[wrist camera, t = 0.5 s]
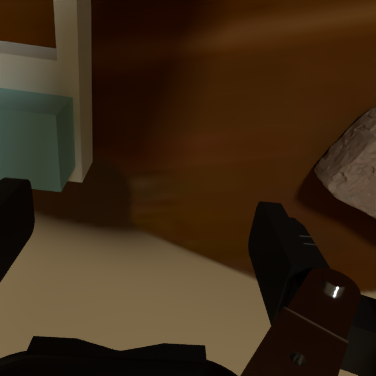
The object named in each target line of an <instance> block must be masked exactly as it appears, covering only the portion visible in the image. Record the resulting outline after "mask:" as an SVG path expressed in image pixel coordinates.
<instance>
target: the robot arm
mask: <svg viewBox="0 0 376 376" xmlns="http://www.w3.org/2000/svg"><path fill="white" fill-rule="evenodd" d="M34 223H35V217H34V207H33V197H32V187H31V183H30V181H29V180H28V179H19V178H9V177H4V178H2V179H1V180H0V282H1V280H2V279H3V278H4V276H5V274H6V273H7V271H8V270H9V268H10V267H11V265H12V264H13V262H14V261H15V259H16V258H17V256H18V255H19V253H20V252H21V250H22V249H23V247H24V246H25V244H26V243H27V241H28V240H29V238H30V237H31V235H32V232H33V229H34ZM248 250H249V255H250V258H251V262H252V265H253V268H254V271H255V275H256V278H257V281H258V284H259V288H260V291H261V294H262V297H263V301H264V304H265V307H266V310H267V314H268V317H269V320H270V323H271V327H270V329H269V331H268V332H267V334H266V336H265V337H264V339H263V340H262V342H261V344H260V345H259V347H258V348H257V350H256V352H255V353H254V355H253V357H252V358H251V360H250V361H249V363H248V364H247V366H246V368H245V369H244V371H243V373H242V374H241V376H338V374H339V370H340V369H342V370H345V371H348V372H351V373H353V374H356V375H358V376H376V299H374V298H371V297H367V296H364V295H361V293H360V290H359V288H358V286H357V285H356V283H355V282H354V281H353V280H351V279H350V278H349V277H348V276H346V275H344V274H343V273H341V272H338V271H336V270H333V269H330V267H329V266H328V264H327V262H326V261H325V259H324V257H323V256H322V254H321V253H320V251H319V249H318V248H317V246H316V245H315V243H314V241H313V239H312V238H310V235H309V233H308V231H307V230H306V228H305V226H303V225H302V224H301V223H300V222H298V221H297V220H296V219H295V218H290V217H288V215H287V213H286V211H285V210H284V208H283V206H282V204H281V203H272V202H261V201H260V202H259V203H258V205H257V208H256V212H255V216H254V220H253V224H252V228H251V232H250V236H249V242H248ZM0 376H237V375H236V374H235V373H233V372H232V371H230V370H229V369H227V368H225V367H223V366H222V365H219V364H217V363H215V362H212V361H209V360H206V350H205V346H203V345H185V344H168V343H163V344H158V345H152V346H146V347H141V348H135V349H129V350H124V351H118V350H113V349H110V348H107V347H104V346H100V345H97V344H93V343H90V342H87V341H84V340H80V339H76V338H59V337H39V336H33V338H32V340H31V342H30V345H29V347H28V349H27V351H23V352H19V353H15V354H11V355H8V356H5V357H3V358H0Z"/></svg>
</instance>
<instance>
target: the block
mask: <svg viewBox="0 0 376 376" xmlns="http://www.w3.org/2000/svg"><path fill="white" fill-rule="evenodd" d="M75 167H76V165H75V140H74V115H73V97H67V96H59V95H52V94H44V93H36V92H29V91H21V90H14V89H6V88H0V180H1V179H2V178H4V177H9V178H19V179H28V180H29V181H30V183H31V187H32V189H37V190H46V191H56V192H61V191H62V189H63V188H64V186H65V184H66V183H67V181H68V179H69V177H70V176H71V174H72V172H73V170H74V169H75Z"/></svg>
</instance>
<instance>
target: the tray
mask: <svg viewBox="0 0 376 376" xmlns="http://www.w3.org/2000/svg"><path fill="white" fill-rule="evenodd" d="M53 1H54V17H55V34H56V49H55V48H48V47H41V46H34V45H27V44H20V43H13V42H6V41H0V88H6V89H14V90H21V91H29V92H36V93H44V94H52V95H59V96H67V97H73V115H74V140H75V165H76V167H75V169H74V170H73V172H72V174H71V176H70V177H69V179H68V181H72V182H81V183H82V181H83V180H84V178H85V176H86V174H87V172H88V170H89V168H90V166H91V164H92V162H93V155H92V55H91V0H53Z"/></svg>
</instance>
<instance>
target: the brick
mask: <svg viewBox="0 0 376 376" xmlns="http://www.w3.org/2000/svg"><path fill="white" fill-rule="evenodd" d="M314 171H315V173H316V176H317V177H318V178H319V180H321V181H322V183H323V185H324V186H325V187H326V188H327V189H328V190H329V191H330V192H331V193H332V195H333V196H334V197H335V198H337V199H339V200H341V201H343V202H344V203H346V204H348V205H350V206H353V207H355V208H357V209H359V210H361V211H363V212H365V213H366V214H368V215H370V216H372V217H373V218H375V219H376V107H375V108H372V109H371V110H370V111H368V112H366V113H365V114H364V115H362V116H361V117H360V118H359V119H358V120H357V121H356V122H355V123H354V124H353V125H352V126H351V127H350V128H349V129H348V130H347V131H346V133H345V134H344V135H343V136H342V137H341V138H340V139H339V140H338V141H337V142H336V143H335V144H333V145H332V146H331V147H330V149H329V151H328V153H327V154H326V155H325V156H324V157H323V158H322V159H321V160H320V161H319V163H318V164H317V165H316V167H315V169H314Z"/></svg>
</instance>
